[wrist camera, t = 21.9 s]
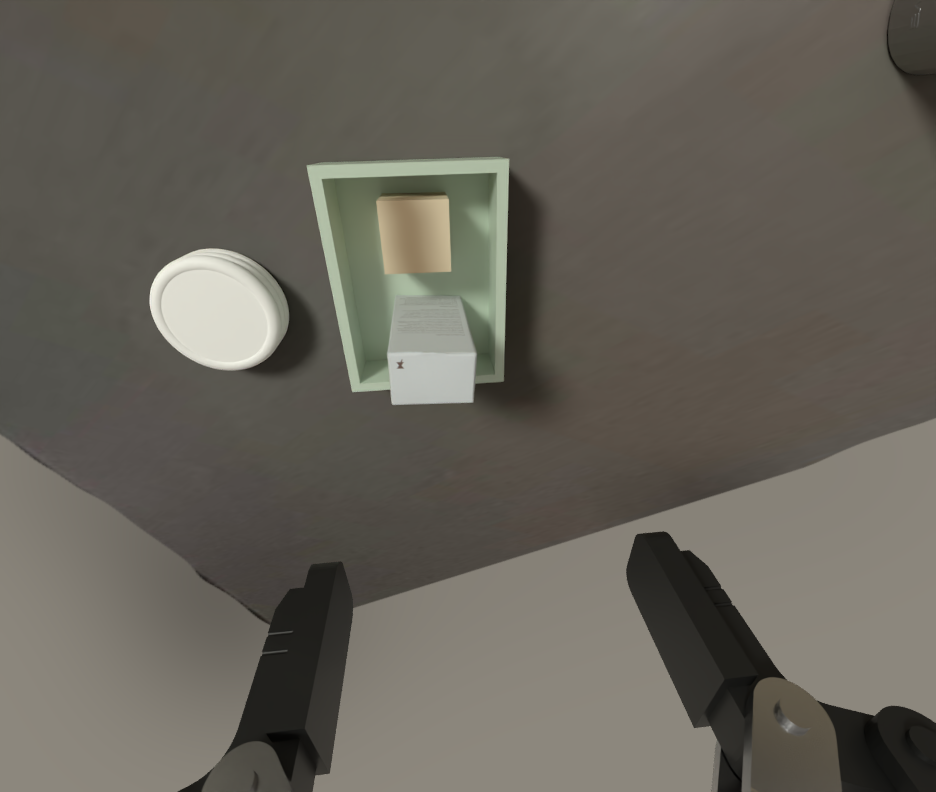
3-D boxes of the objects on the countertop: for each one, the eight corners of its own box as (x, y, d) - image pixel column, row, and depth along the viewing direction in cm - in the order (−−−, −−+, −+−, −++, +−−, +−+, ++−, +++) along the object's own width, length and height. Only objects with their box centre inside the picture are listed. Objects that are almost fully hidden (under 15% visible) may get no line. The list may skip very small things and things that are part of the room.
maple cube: (445, 191, 33) (448, 199, 29) (447, 256, 36) (451, 271, 31) (382, 193, 33) (376, 201, 28) (389, 258, 35) (384, 274, 31)
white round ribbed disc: (225, 221, 33) (206, 230, 30) (314, 318, 38) (305, 333, 35) (143, 290, 35) (117, 304, 32) (237, 373, 40) (222, 392, 37)
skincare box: (397, 337, 39) (388, 406, 29) (395, 293, 37) (384, 351, 27) (461, 337, 40) (474, 405, 30) (462, 294, 37) (478, 350, 27)
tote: (497, 156, 32) (509, 159, 28) (495, 357, 42) (503, 381, 38) (322, 162, 32) (306, 165, 27) (359, 366, 41) (352, 392, 37)
